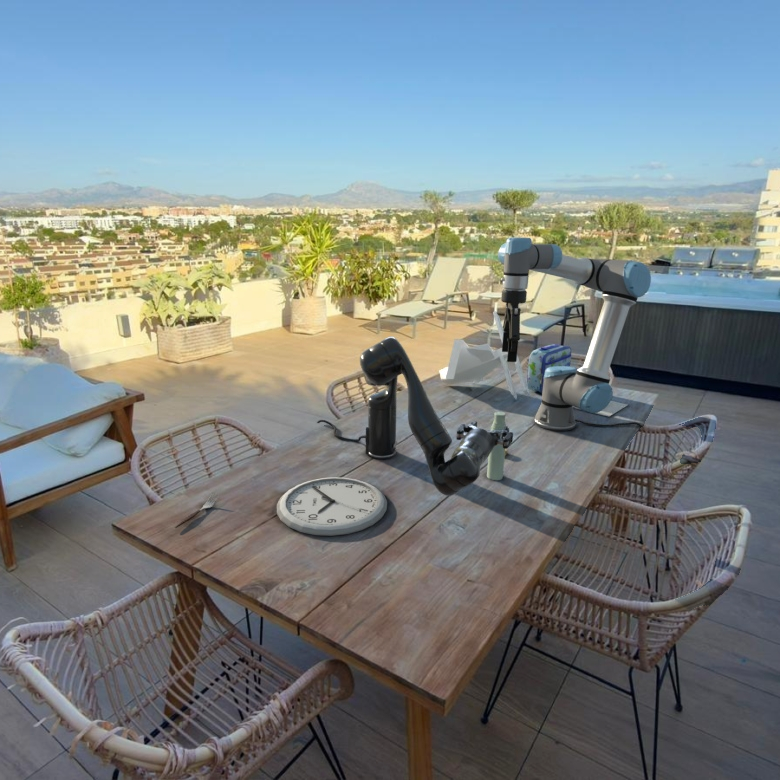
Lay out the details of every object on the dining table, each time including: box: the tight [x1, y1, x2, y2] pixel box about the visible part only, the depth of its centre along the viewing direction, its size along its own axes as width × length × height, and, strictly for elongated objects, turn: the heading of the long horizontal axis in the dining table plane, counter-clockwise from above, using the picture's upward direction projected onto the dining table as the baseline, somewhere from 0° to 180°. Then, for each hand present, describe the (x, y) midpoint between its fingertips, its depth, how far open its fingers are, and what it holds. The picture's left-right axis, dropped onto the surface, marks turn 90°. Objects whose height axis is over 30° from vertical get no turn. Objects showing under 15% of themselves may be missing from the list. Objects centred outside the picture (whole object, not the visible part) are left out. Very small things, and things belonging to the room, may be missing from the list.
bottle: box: [486, 411, 507, 481], centre depth 158 cm, size 5×5×21 cm
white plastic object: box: [438, 310, 531, 400], centre depth 245 cm, size 37×45×31 cm
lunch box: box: [526, 343, 572, 394], centre depth 247 cm, size 26×11×21 cm, turn 134°
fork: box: [174, 492, 220, 529], centre depth 137 cm, size 3×16×2 cm, turn 160°
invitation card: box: [573, 400, 629, 418], centre depth 226 cm, size 21×1×15 cm
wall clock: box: [276, 476, 388, 537], centre depth 142 cm, size 30×2×30 cm
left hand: (490, 426), depth 145 cm, fingers open, 8 cm apart
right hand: (508, 356), depth 167 cm, fingers open, 13 cm apart
